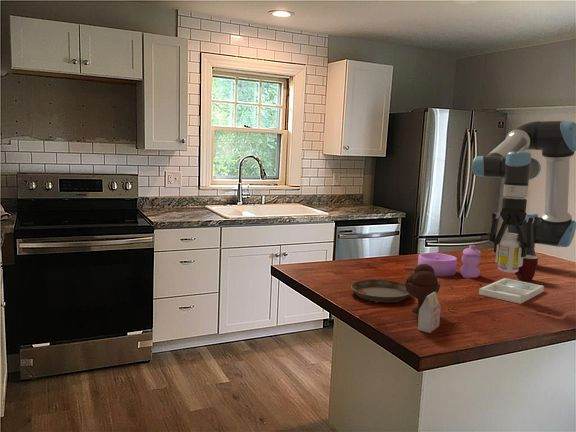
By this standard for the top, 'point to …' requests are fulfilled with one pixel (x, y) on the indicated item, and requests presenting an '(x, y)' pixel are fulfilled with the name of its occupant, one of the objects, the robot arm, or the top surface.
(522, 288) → the light grey round disc
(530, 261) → the mug
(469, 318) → the top surface
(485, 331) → the top surface
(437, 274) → the container set
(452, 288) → the top surface
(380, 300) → the plant saucer
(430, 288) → the ice cream bowl
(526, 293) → the two-compartment tray
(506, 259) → the supplement bottle
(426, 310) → the tea bag
